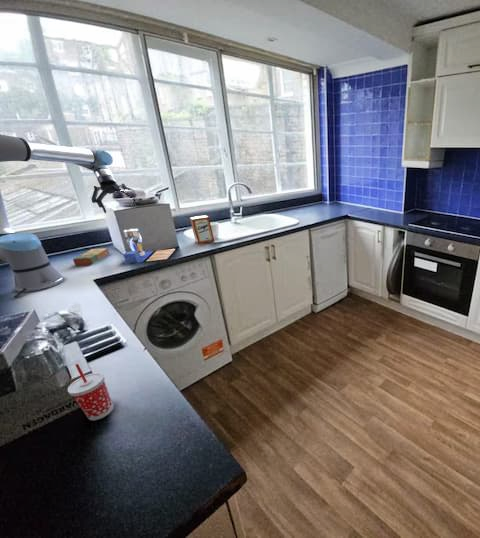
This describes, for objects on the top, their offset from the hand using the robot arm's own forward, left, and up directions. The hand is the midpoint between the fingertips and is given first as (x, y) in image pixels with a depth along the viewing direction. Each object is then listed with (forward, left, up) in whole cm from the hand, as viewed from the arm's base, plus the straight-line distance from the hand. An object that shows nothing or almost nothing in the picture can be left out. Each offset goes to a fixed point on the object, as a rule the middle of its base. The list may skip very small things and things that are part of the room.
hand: (120, 209), depth 162 cm
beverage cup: (-128, -37, -26) cm, 136 cm away
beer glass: (-9, -5, -25) cm, 27 cm away
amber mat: (-11, -17, -26) cm, 33 cm away
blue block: (-18, -5, -25) cm, 31 cm away
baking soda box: (+10, -36, -26) cm, 45 cm away
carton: (-6, +18, -26) cm, 32 cm away
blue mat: (-11, -5, -26) cm, 28 cm away
